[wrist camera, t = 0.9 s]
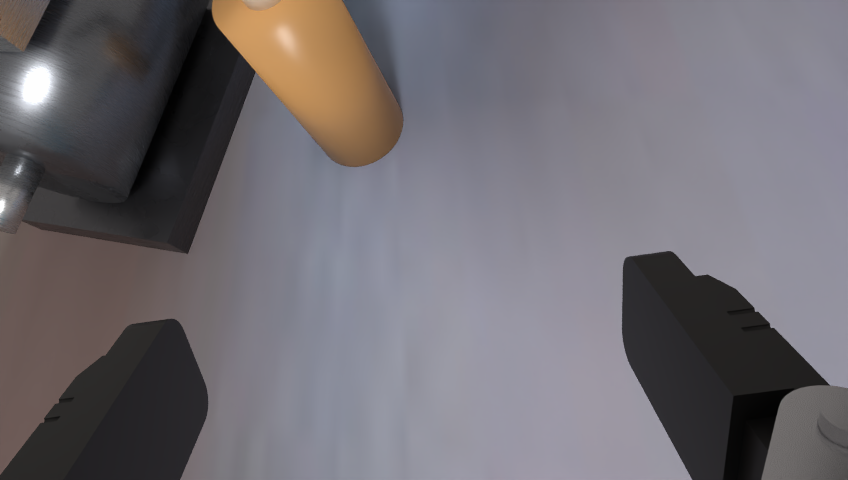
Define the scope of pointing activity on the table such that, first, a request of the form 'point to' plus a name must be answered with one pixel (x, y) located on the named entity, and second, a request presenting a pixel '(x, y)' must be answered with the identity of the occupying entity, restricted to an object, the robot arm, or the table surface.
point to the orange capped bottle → (317, 72)
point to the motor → (114, 116)
